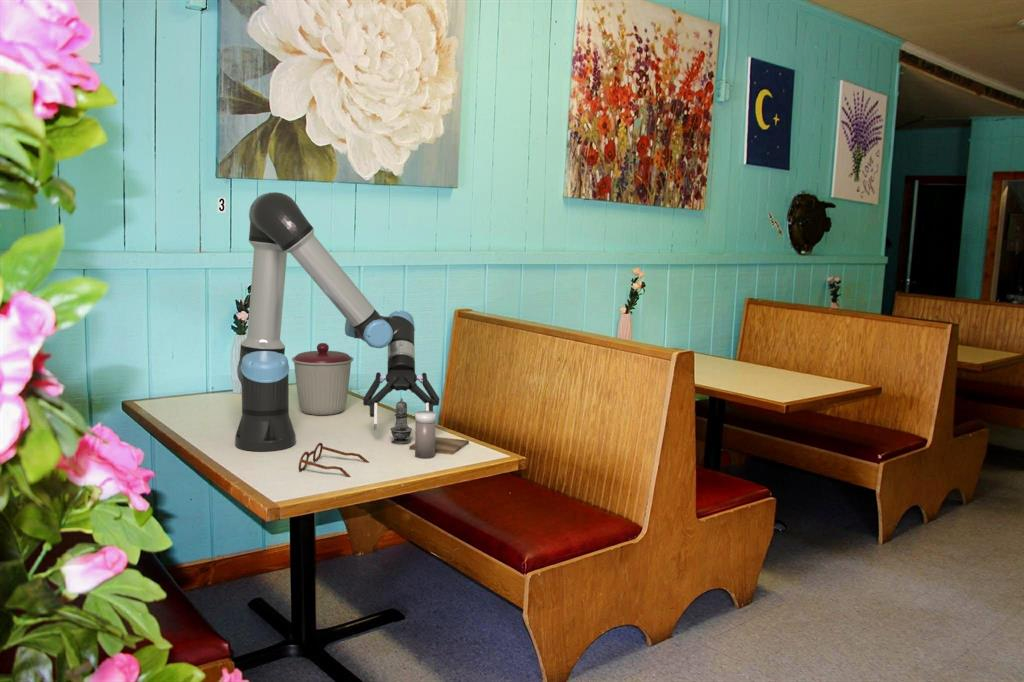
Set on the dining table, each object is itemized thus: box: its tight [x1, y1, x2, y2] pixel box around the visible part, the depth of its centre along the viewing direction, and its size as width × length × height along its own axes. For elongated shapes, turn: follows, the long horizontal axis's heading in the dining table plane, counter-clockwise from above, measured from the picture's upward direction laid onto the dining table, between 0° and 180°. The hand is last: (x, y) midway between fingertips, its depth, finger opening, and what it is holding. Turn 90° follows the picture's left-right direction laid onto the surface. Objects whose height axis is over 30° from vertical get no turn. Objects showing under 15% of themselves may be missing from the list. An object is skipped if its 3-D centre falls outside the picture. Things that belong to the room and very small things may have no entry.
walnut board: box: [408, 436, 470, 455], centre depth 233 cm, size 12×12×1 cm
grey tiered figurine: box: [389, 397, 413, 446], centre depth 236 cm, size 6×6×12 cm
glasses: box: [298, 442, 370, 478], centre depth 211 cm, size 13×13×5 cm
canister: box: [291, 342, 354, 416], centre depth 267 cm, size 18×18×21 cm
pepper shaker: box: [414, 410, 437, 460], centre depth 223 cm, size 5×5×11 cm
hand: (401, 426), depth 234 cm, fingers open, 13 cm apart
